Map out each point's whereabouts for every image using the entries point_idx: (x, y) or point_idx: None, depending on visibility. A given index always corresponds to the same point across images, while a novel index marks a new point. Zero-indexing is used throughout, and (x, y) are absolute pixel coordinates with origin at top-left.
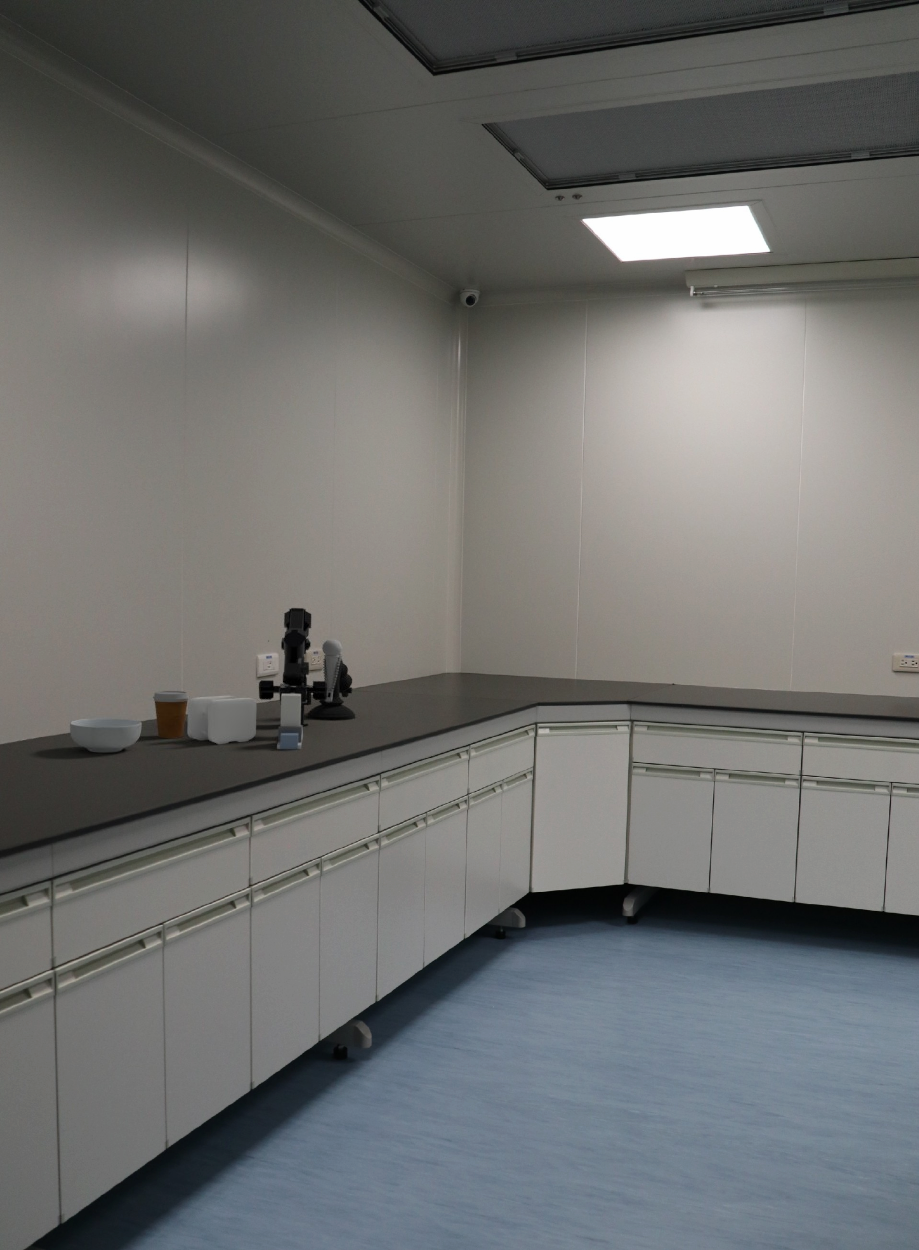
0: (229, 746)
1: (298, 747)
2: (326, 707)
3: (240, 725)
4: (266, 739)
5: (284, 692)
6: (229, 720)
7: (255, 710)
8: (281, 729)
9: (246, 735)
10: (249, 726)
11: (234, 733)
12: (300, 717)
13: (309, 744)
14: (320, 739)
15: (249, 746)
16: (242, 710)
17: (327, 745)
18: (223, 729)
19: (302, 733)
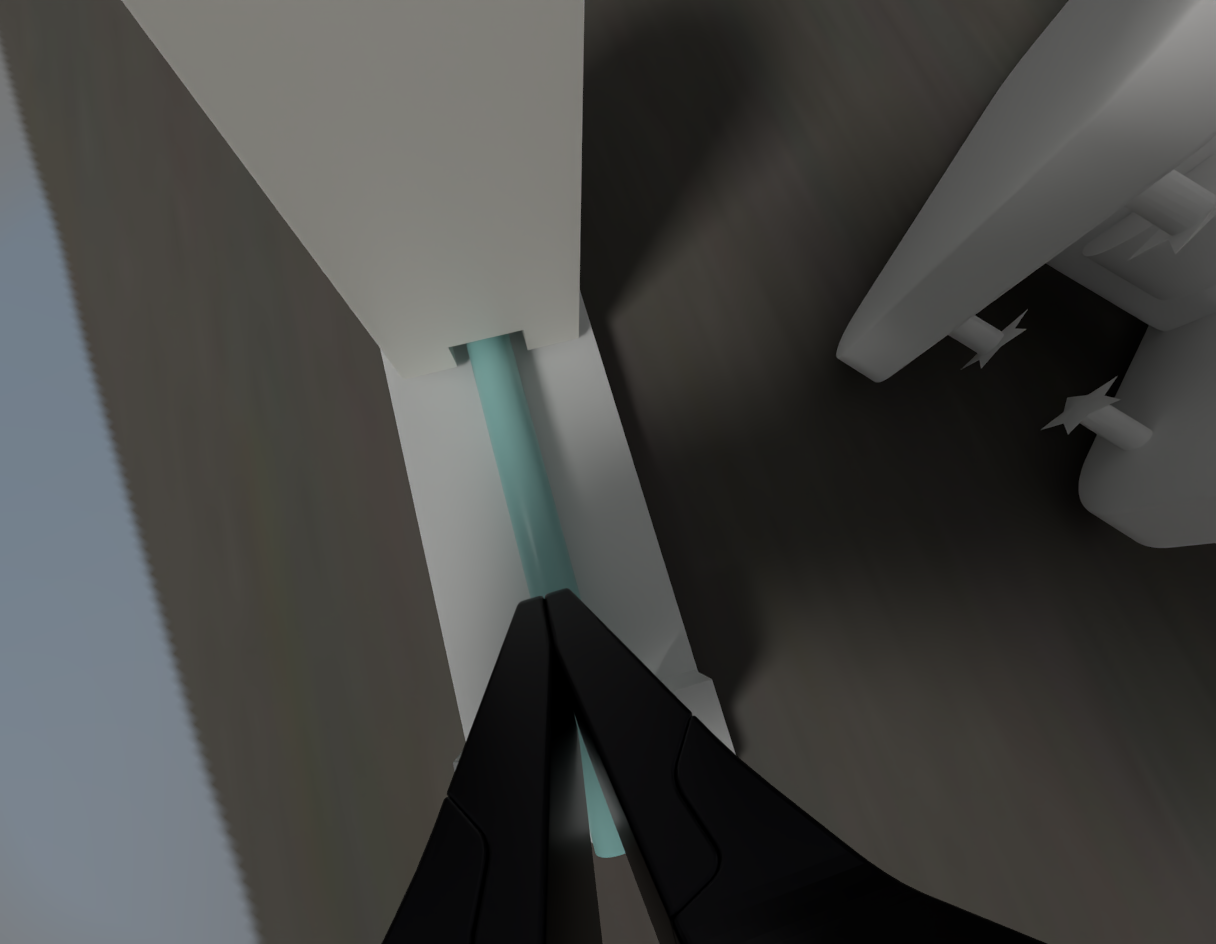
0: (859, 89)
1: None
2: None
3: (971, 159)
4: (753, 470)
5: (989, 938)
6: (1075, 13)
7: (1005, 182)
8: None
9: (878, 276)
10: (910, 249)
11: (951, 168)
12: (313, 250)
13: (310, 320)
14: (257, 640)
15: (733, 120)
16: (1103, 13)
17: (141, 312)
18: (1032, 55)
19: (467, 737)
